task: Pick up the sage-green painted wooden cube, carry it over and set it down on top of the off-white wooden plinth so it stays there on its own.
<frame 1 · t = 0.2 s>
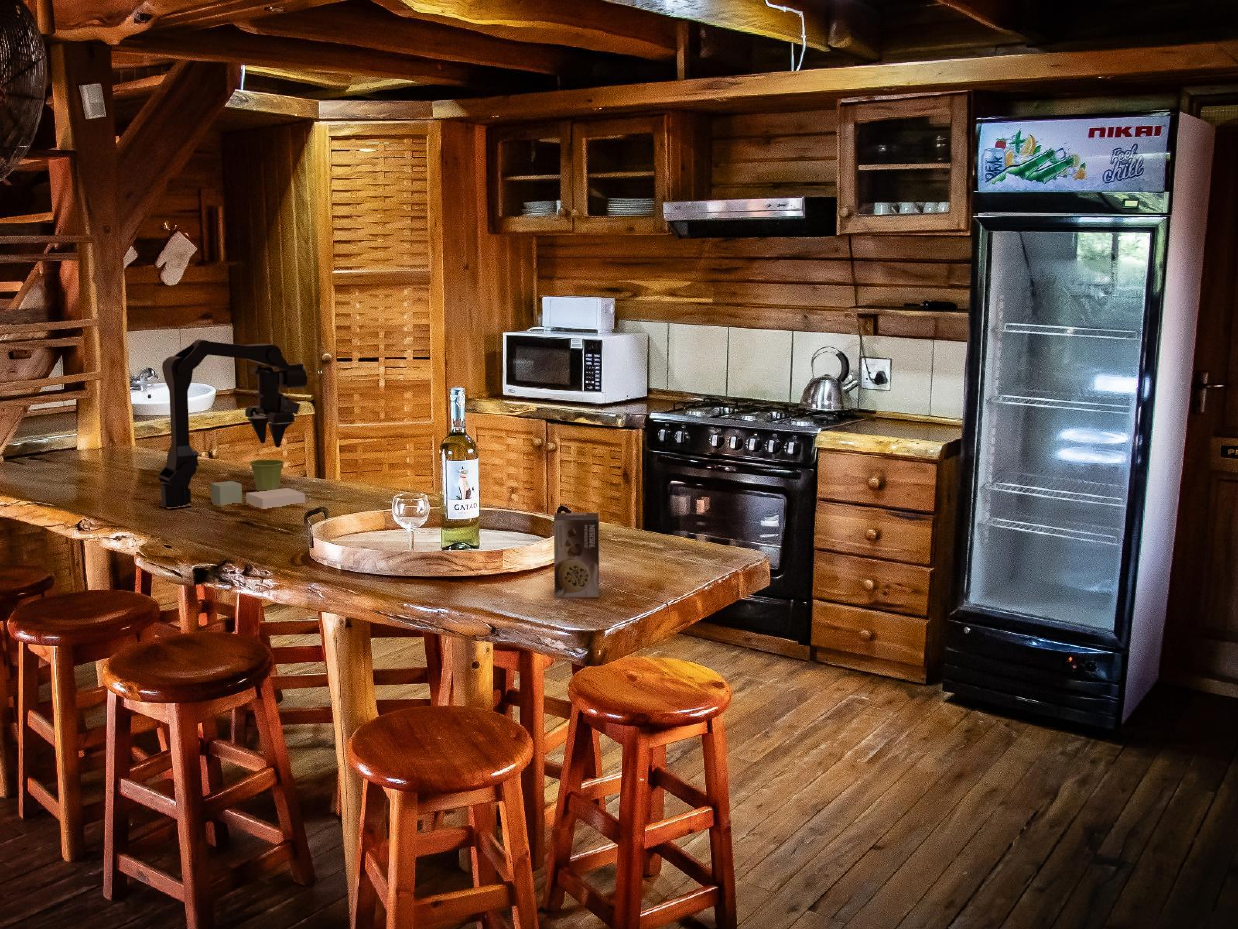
hand: (270, 445, 332), 14 cm above the table, fingers open, 9 cm apart
plant pot: (268, 493, 338), on the table
sage cube: (226, 505, 320), on the table
plinth: (276, 508, 319), on the table
coffee box: (576, 594, 240), on the table
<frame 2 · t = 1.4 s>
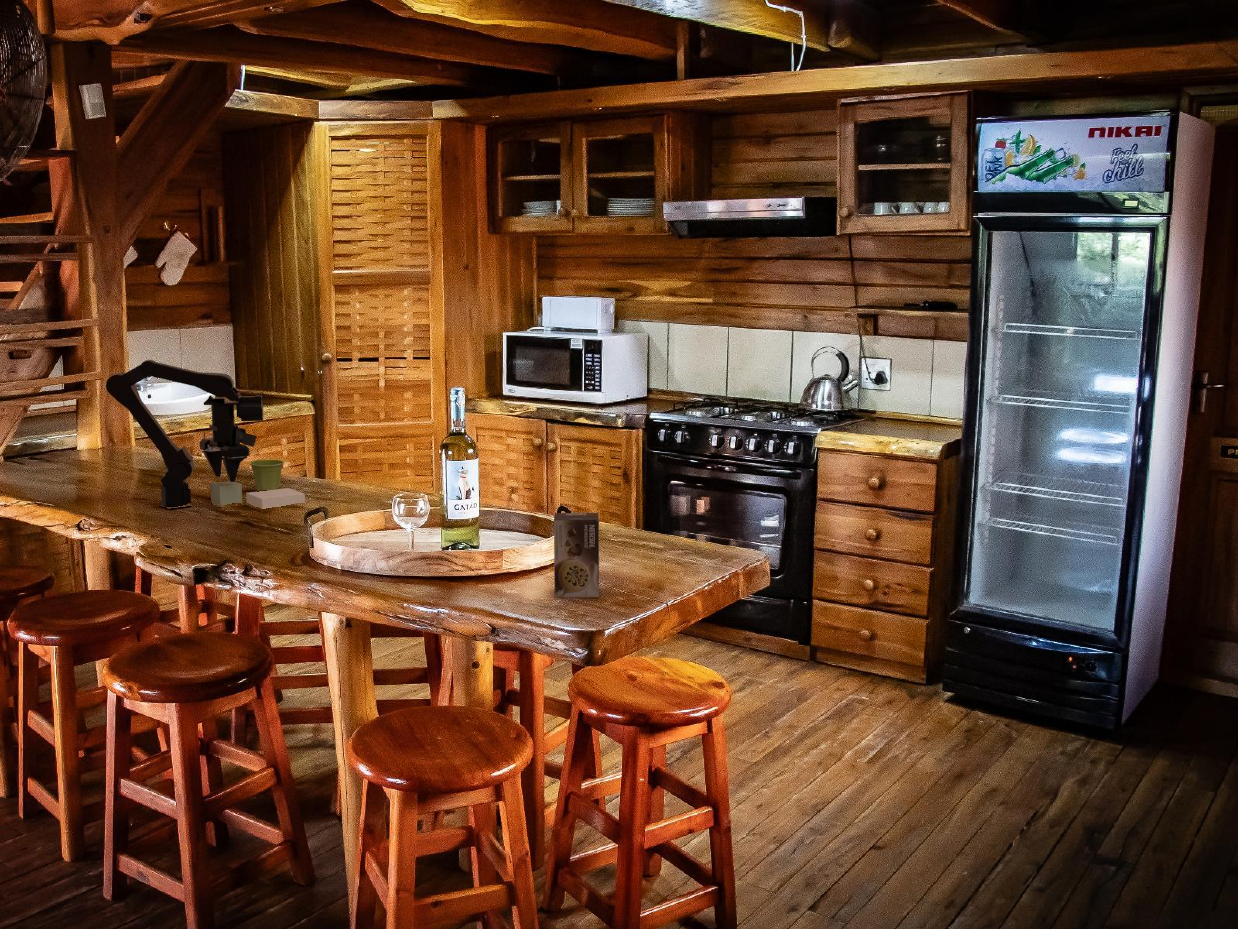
hand: (225, 479, 319), 7 cm above the table, fingers open, 9 cm apart
nothing on the table moved.
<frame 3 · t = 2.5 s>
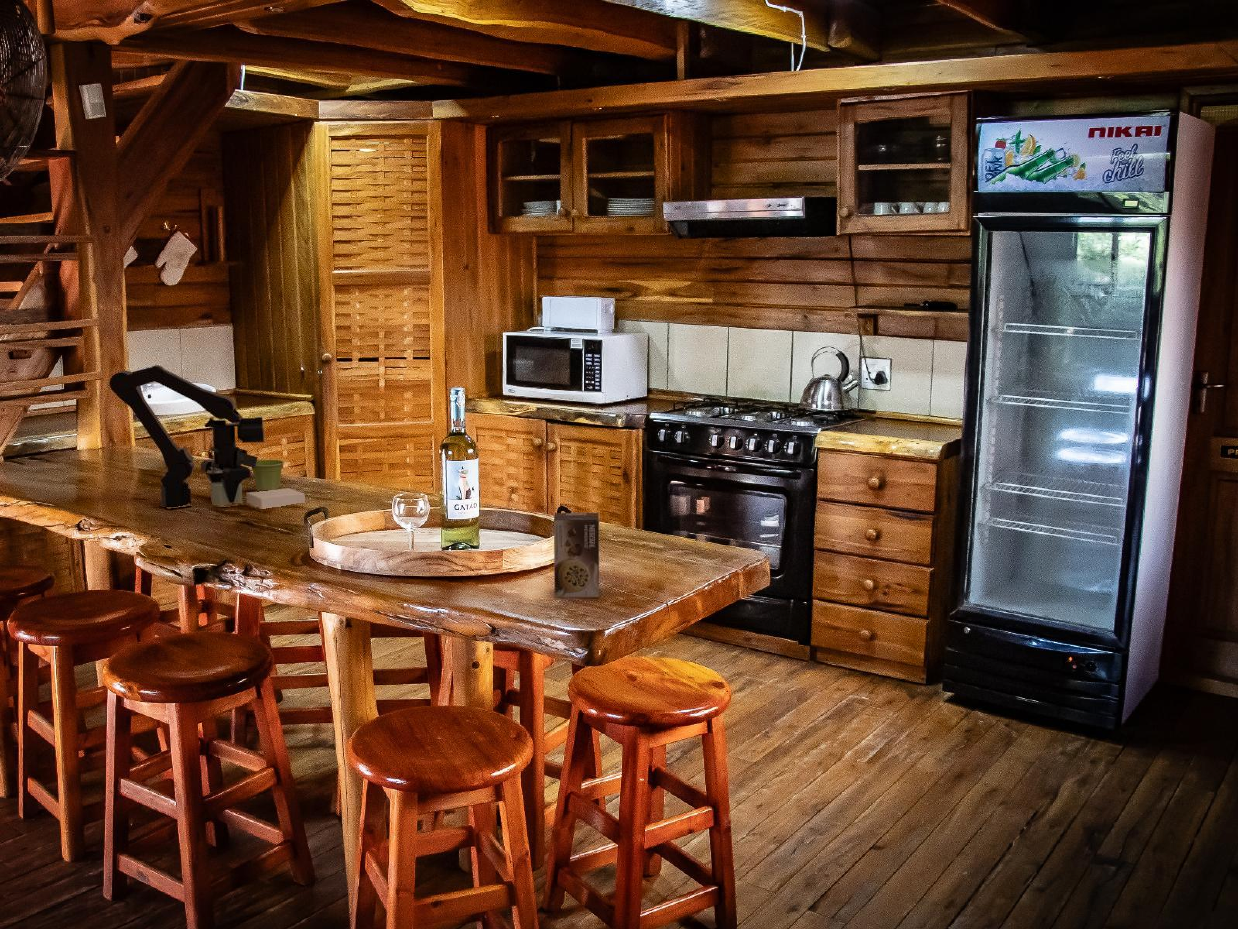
hand: (226, 500, 320), 1 cm above the table, fingers closed on sage cube, 6 cm apart
sage cube: (226, 505, 320), on the table, touching gripper
everything else where it was.
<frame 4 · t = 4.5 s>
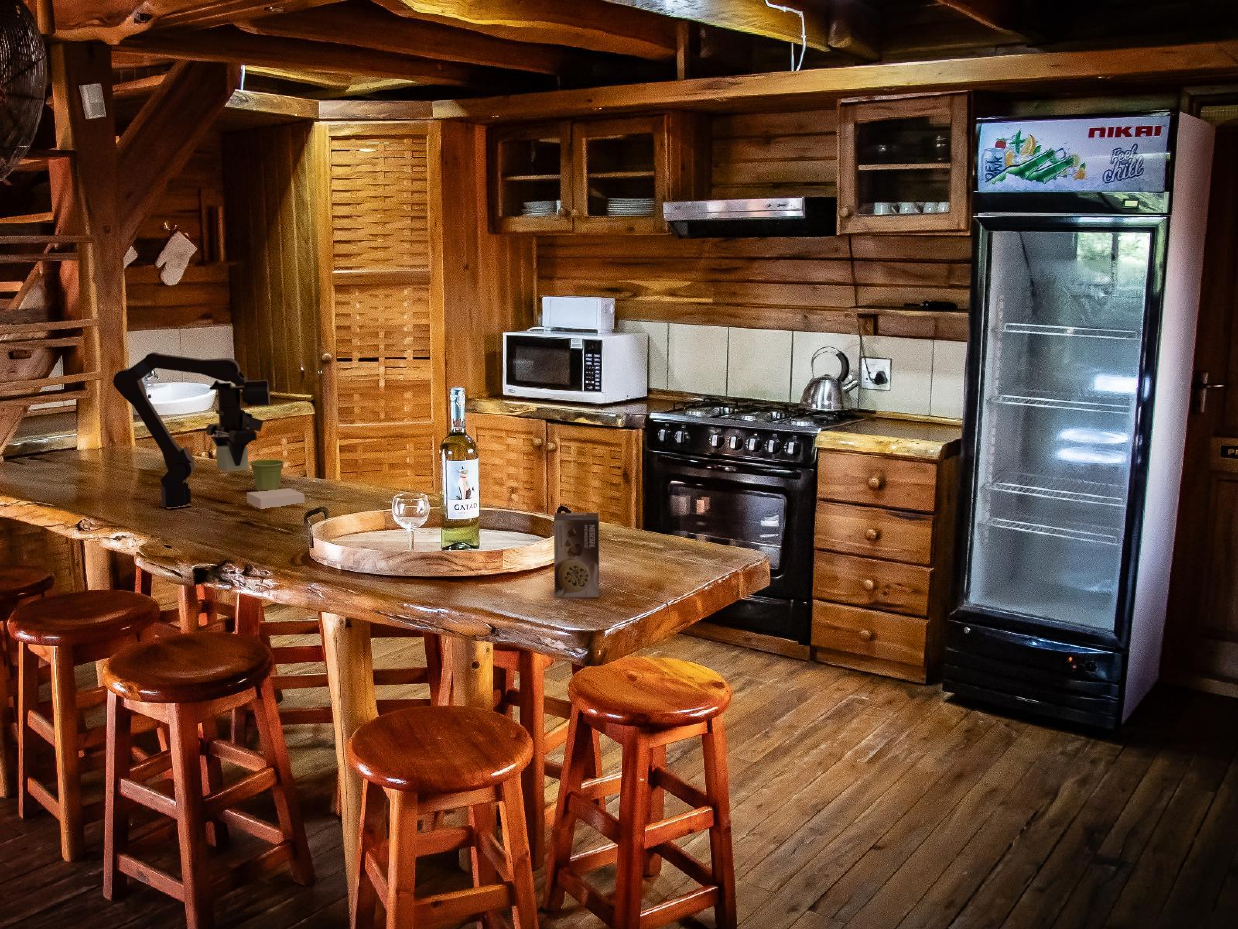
hand: (232, 464, 318), 11 cm above the table, fingers closed on sage cube, 6 cm apart
sage cube: (232, 468, 318), point 10 cm above the table, touching gripper
everything else where it was.
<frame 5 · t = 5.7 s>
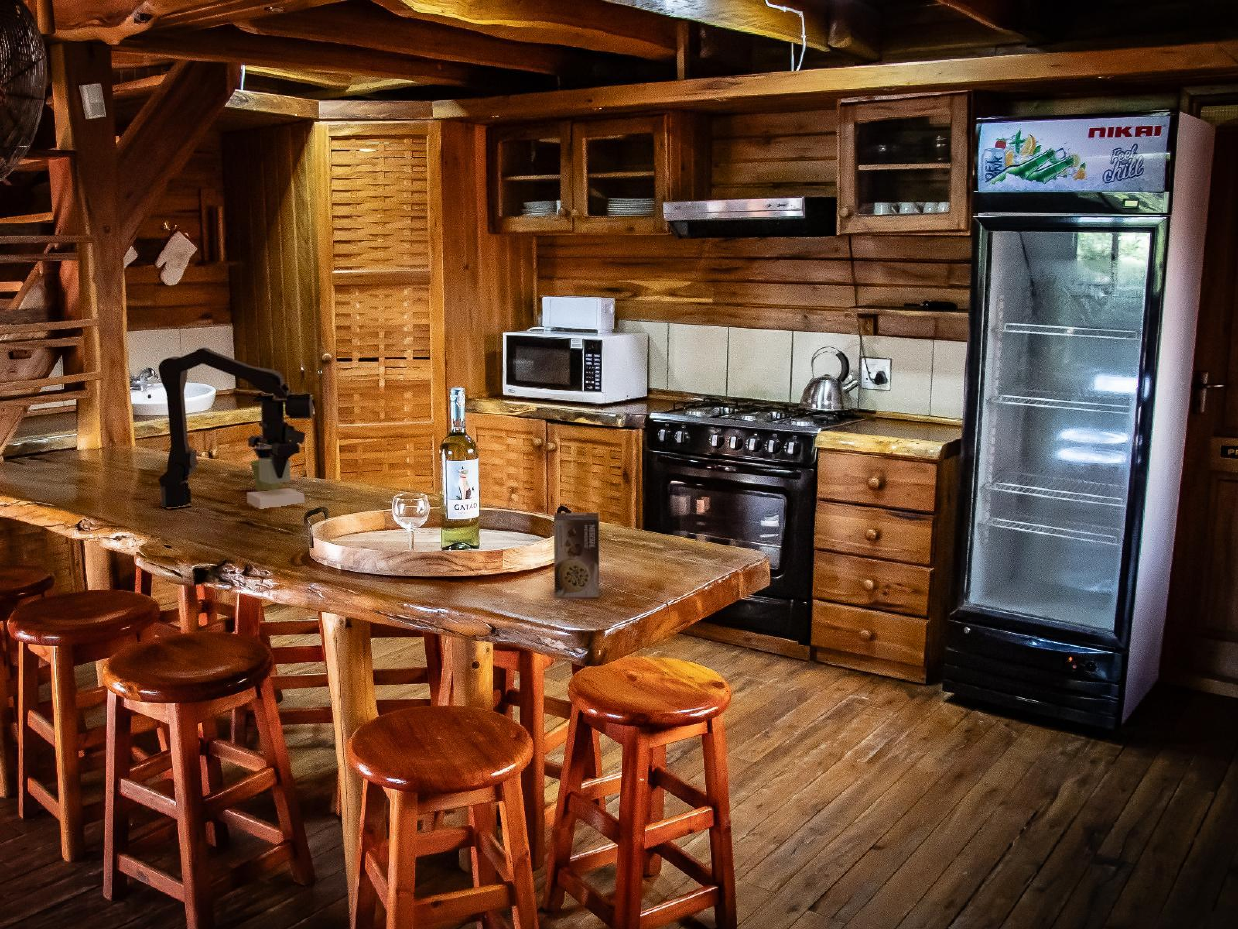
hand: (274, 476, 318), 8 cm above the table, fingers closed on sage cube, 6 cm apart
sage cube: (274, 480, 318), point 7 cm above the table, touching gripper
everything else where it was.
when the fingers open (7 cm above the table, at t = 6.4 s): sage cube drops 2 cm, resting on plinth.
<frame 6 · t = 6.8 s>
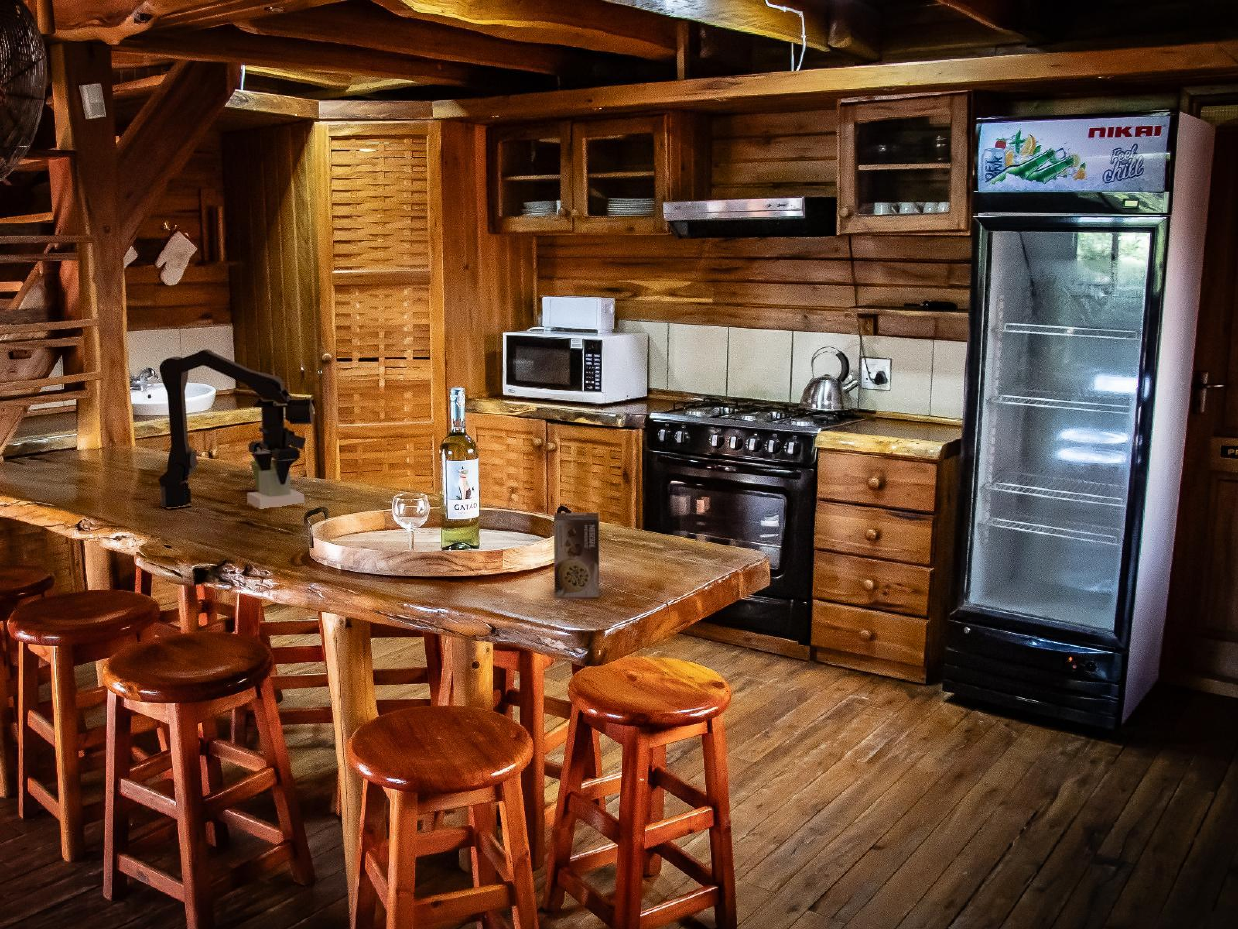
hand: (275, 481, 318), 7 cm above the table, fingers open, 9 cm apart
sage cube: (274, 493, 319), point 4 cm above the table, touching plinth
plinth: (276, 508, 319), on the table, touching sage cube
everything else where it was.
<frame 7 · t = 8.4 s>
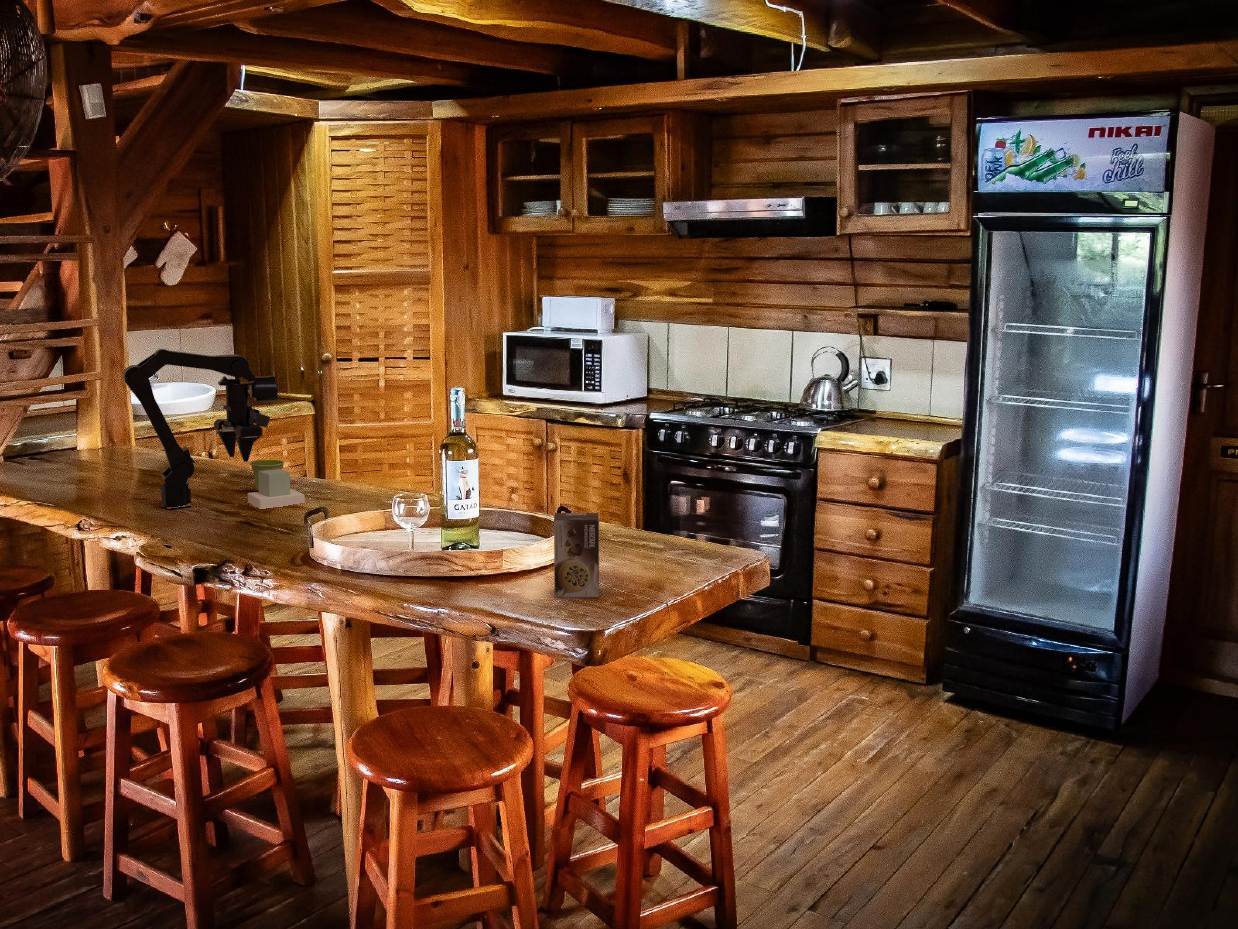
hand: (238, 459, 322), 12 cm above the table, fingers open, 9 cm apart
sage cube: (274, 493, 318), point 4 cm above the table
plinth: (276, 508, 319), on the table
everything else where it was.
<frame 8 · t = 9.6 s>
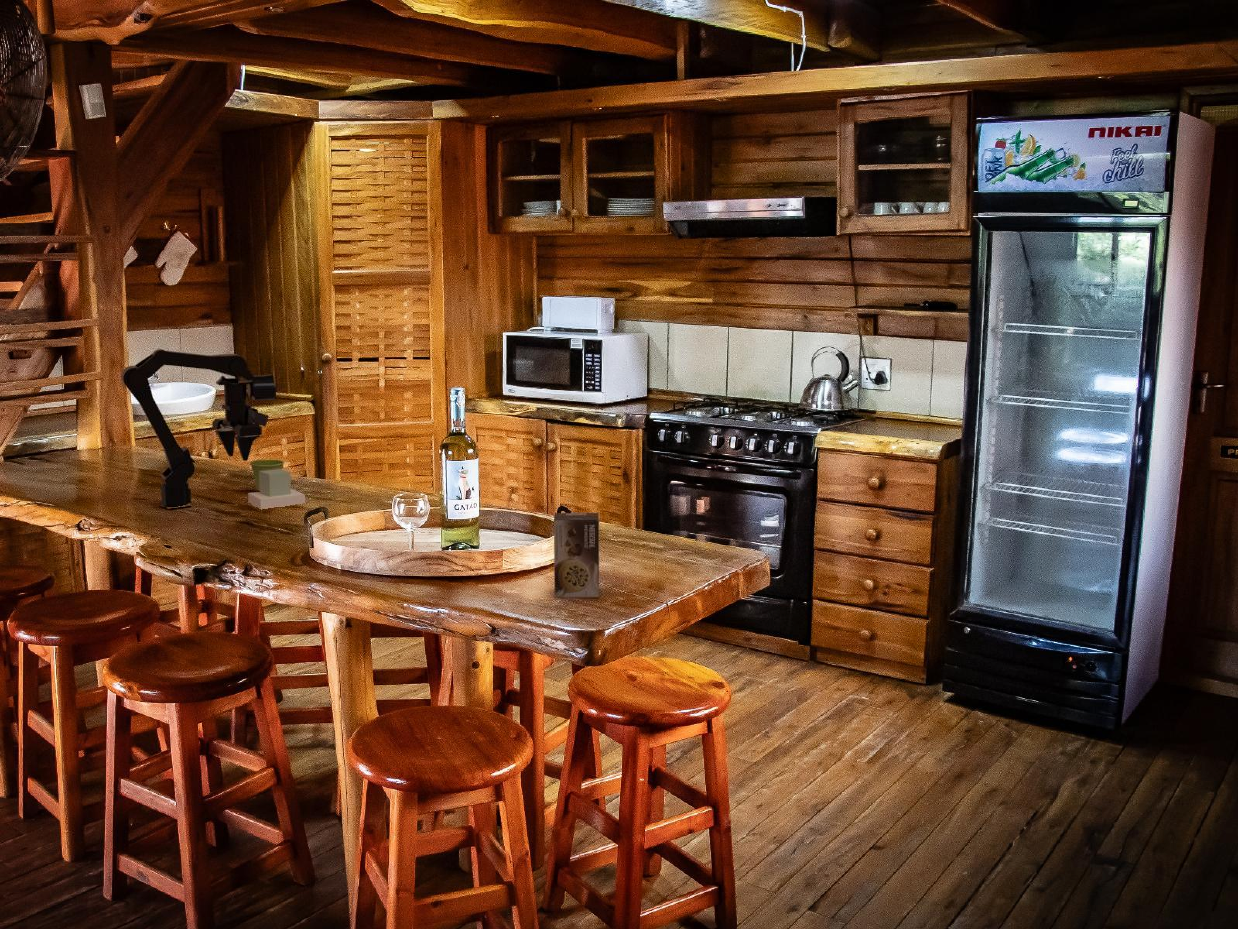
hand: (238, 458, 322), 12 cm above the table, fingers open, 9 cm apart
sage cube: (275, 493, 318), point 4 cm above the table, touching plinth
plinth: (277, 508, 319), on the table, touching sage cube
everything else where it was.
at the end: sage cube inside the target area on the plinth (0.5 cm from its centre), point 4.0 cm above the plinth's base; sage cube tilted 0°; the gripper is holding nothing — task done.
